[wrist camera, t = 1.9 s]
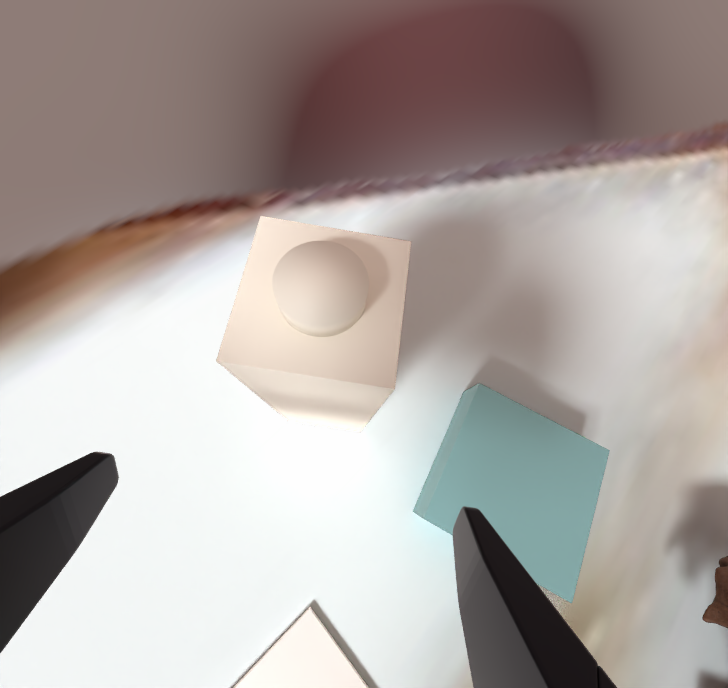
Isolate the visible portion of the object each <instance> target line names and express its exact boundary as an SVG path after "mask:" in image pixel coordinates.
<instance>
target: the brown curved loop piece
mask: <svg viewBox="0 0 728 688" xmlns="http://www.w3.org/2000/svg"><path fill="white" fill-rule="evenodd" d="M719 565H720V567H718V568H717V569H716V572H715V582H716V596H715V598H714V601H713V603H712V604H711V605H709V606H708V608H707V609H706V611H705V613H704V615H703V620H704V621H705V622H708V623H716V624H718V625H721V626H724V627H726V628H728V556H726V557H724V558H722V559H720V560H719Z"/></svg>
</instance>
